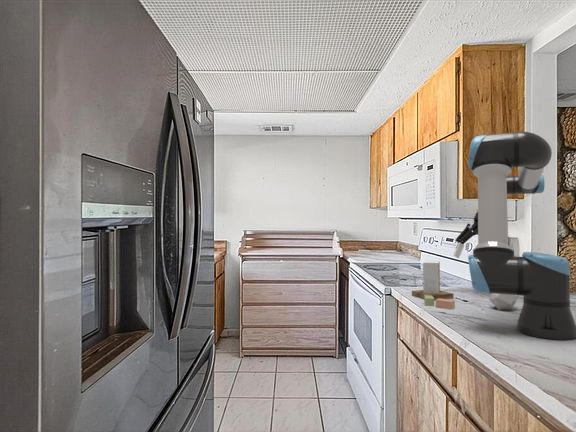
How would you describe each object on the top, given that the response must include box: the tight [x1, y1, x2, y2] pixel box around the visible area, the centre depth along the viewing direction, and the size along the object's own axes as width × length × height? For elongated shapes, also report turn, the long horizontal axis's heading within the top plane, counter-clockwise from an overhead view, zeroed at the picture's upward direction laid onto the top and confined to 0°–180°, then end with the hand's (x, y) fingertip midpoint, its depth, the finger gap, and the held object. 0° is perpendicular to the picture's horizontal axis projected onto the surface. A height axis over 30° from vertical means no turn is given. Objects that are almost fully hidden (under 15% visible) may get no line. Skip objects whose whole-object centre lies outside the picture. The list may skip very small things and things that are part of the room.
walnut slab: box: [411, 289, 454, 301], centre depth 172 cm, size 12×12×2 cm
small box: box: [422, 260, 441, 294], centre depth 173 cm, size 8×6×13 cm
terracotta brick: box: [435, 298, 456, 310], centre depth 153 cm, size 6×3×3 cm, turn 47°
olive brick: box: [423, 295, 435, 307], centre depth 159 cm, size 6×3×3 cm, turn 168°
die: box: [488, 293, 519, 311], centre depth 150 cm, size 8×9×10 cm
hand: (467, 257), depth 174 cm, fingers open, 13 cm apart
